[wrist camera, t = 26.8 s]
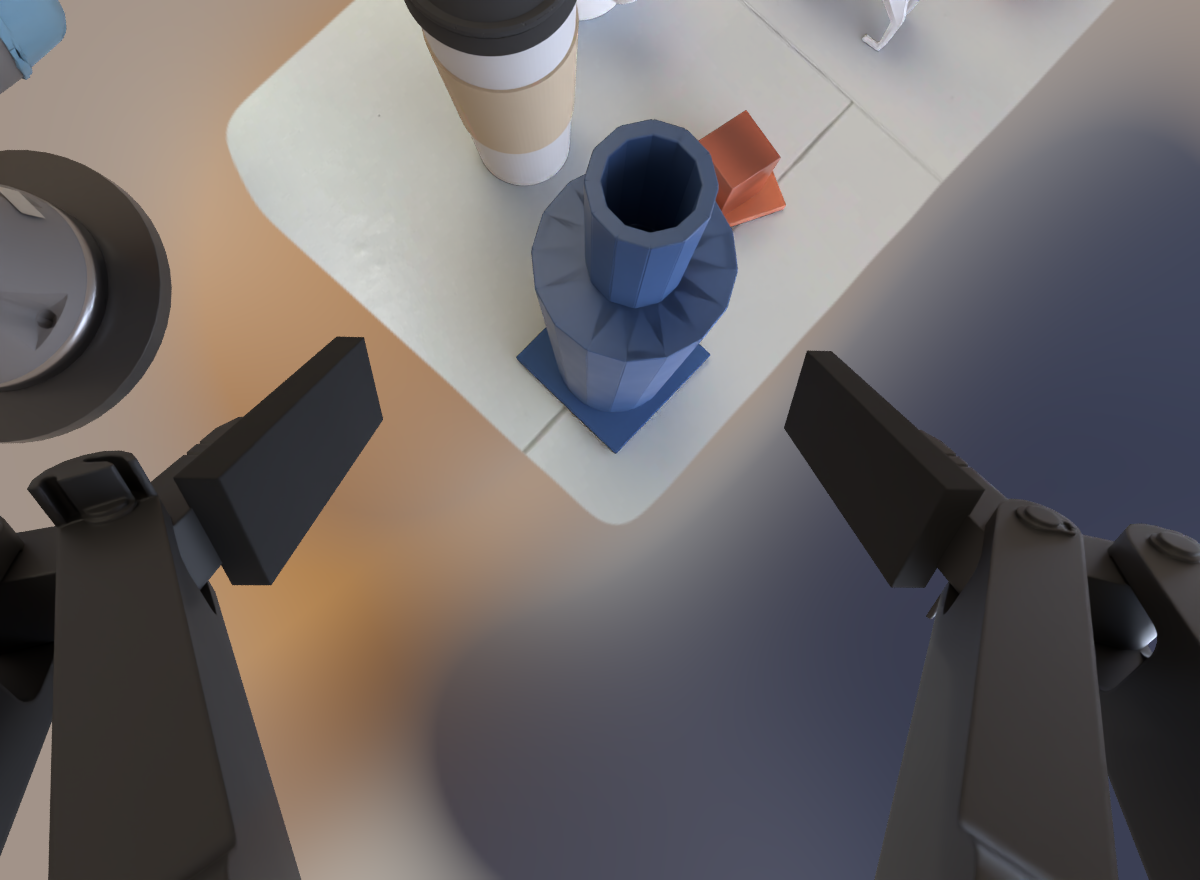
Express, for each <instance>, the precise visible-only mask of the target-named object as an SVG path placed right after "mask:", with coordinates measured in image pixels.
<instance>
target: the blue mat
mask: <svg viewBox="0 0 1200 880" xmlns="http://www.w3.org/2000/svg"><path fill="white" fill-rule="evenodd" d="M709 356H710V354H709V353H708V352H707V351H706V350H705V349H704V348H703V347H702V346H701V345H700V344H698V345H697V346H696V347H695V349H694V350H693V351H692V352H691V353H690V354H689V356H688V357H687V358H686V359H685V360H684V362H683V363H682V364H681V365H680V366H679V367H678V369H677V370H676V371H675V372H674V373H673V374H672V376H671V377H670V378H669V379H668V380H667V381H666V383H665V384H664V385H663V386H662V387H661V388H660V390H659V391H658V392H657V393H656V394H655V396H654V397H653V398H652V399H651V400H649V401H647V402H646V403H644V404H643V405H641V406H639V407H637V408H634V409H631V410H628V411H623V412H605V411H600V410H597V409H594V408H591V407H590V406H588V405H586V404H584V403H583V402H581V401H580V400H579V399H577V398H576V397H575V396H574V395H573V394H572V393H571V392H570V391H569V389H568V387H567V385H566V384H565V382H564V380H563V378H562V376H561V374H560V372H559V368H558V365H557V362H556V358H555V355H554V351H553V348H552V345H551V341H550V338H549V334H548V331H547V328H545V329H544V330H543V331H542V332H541V333H540V334H539V335H538V336H537V337H536V338H535V339H534V340H533V341H532V342H531V343H530V344H529V345H528V346H527V347H526V348H525V349H524V350H523V351H522V352H521V353H520V354H519V355H518V356H517V357H516V358H517V360H518V361H519V362H520V363H521V364H523V365H524V366H525V367H526V368H527V369H528V370H529V371H530V372H531V373H532V374H533V375H534V376H535V377H536V378H537V379H538V380H539V381H540V382H541V383H542V384H543V385H544V386H545V387H546V388H547V389H549V390H550V391H551V392H552V393H553V394H554V395H555V396H556V397H557V398H558V399H559V400H560V401H561V402H562V403H563V404H564V405H565V406H566V407H567V408H568V409H569V410H570V411H571V412H572V413H573V414H574V415H576V416H577V417H578V418H579V419H580V420H581V421H582V422H583V423H584V424H585V425H586V426H587V427H588V428H589V429H590V430H591V431H592V432H593V433H594V434H595V435H596V436H597V437H598V438H599V439H600V440H601V441H603V442H604V443H605V444H606V445H607V446H608V447H609V448H610V449H611V450H612V451H613V452H614V453H615V454H616V453H617V452H618V451H619V450H620V449H621V448H622V447H623V446H624V445H625V444H626V443H627V442H628V440H629V439H630V438H631V437H632V436H633V435H634V434H635V433H636V432H637V431H638V430H639V429H640V428H641V427H642V426H643V425H644V424H645V423H646V422H647V421H648V420H649V419H650V418H651V417H652V416H653V414H654V413H655V412H656V411H657V410H658V409H659V408H660V407H661V406H662V405H663V404H664V403H665V402H666V401H667V400H668V399H669V398H670V397H671V396H672V395H673V394H674V393H675V392H676V391H677V389H678V388H679V387H680V386H681V385H682V384H683V383H684V382H685V381H686V380H687V379H688V378H689V377H690V376H691V375H692V374H693V373H694V372H695V371H696V370H697V369H698V368H699V367H700V366H701V365H702V363H703V362H704V361H705V360H706V359H707V358H708V357H709Z"/></svg>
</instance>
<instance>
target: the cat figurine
mask: <svg viewBox="0 0 1200 880" xmlns="http://www.w3.org/2000/svg"><path fill="white" fill-rule="evenodd" d="M918 2H919V0H909V2H908V0H883V3H884V5H885V8H886V11H887V13H888V16H889V18H890V21H891V22H890V24H889V26H888V28H887V30H886V31H885V33H884V35H883V37H882V39H881V41H879V42H877V41H875V40H874V39H873V38H871V37H870V36H868V35H867V34H865V36H864V37H863V39H862V40H863V41H864V42H866V43H867V44H868V45H870V46H871V47H873V48H874V49H875V50H877V51H879V50H880V49H881V48H882V47H884V46H885V45H886V44H887V43H888V42H889V40H890V39H891V38H892V36H893V35H894V34H895V32H896V31H897V30H898V29H899V27H900V26H901V25H902V23H903V22H904V21H905V16H906V14H908V13H909V12H910V11H911V10H912V9H913V8H914V7H915V6H916V4H917V3H918Z"/></svg>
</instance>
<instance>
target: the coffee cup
mask: <svg viewBox="0 0 1200 880" xmlns="http://www.w3.org/2000/svg"><path fill="white" fill-rule="evenodd" d="M404 1H405V3H406V5H407V7H408V9H409V11H410V13H411V14H412V16H413V17H414V19H415V20H416V21H417V23H418V24H419V25H420V26H421V27H422V30H423V35H424V39H425V42H426V45H427V47H428V49H429V51H430V53H431V56H432V58H433V60H434V62H435V64H436V66H437V68H438V71H439V73H440V75H441V77H442V79H443V81H444V83H445V86H446V88H447V90H448V92H449V94H450V96H451V98H452V101H453V103H454V105H455V107H456V109H457V111H458V113H459V116H460V118H461V120H462V122H463V124H464V126H465V127H466V129H467V130H468V132H469V133H470V134H471V136H472V139H473V141H474V143H475V145H476V147H477V150H478V152H479V154H480V156H481V158H482V160H483V162H484V164H485V166H486V167H487V168H488V170H489V171H490V172H491V173H492V174H493V175H495V176H496V177H497V178H499V179H501V180H503V181H505V182H507V183H510V184H515V185H534V184H538V183H541V182H543V181H546V180H548V179H549V178H551V177H552V176H554V175H555V174H556V173H557V172H558V171H559V170H560V169H561V168H562V166H563V165H564V163H565V161H566V159H567V157H568V153H569V149H570V131H571V117H572V114H573V109H574V99H575V81H576V62H577V44H578V25H579V16H578V8H577V3H576V1H577V0H404Z"/></svg>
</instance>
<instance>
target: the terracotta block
mask: <svg viewBox="0 0 1200 880" xmlns="http://www.w3.org/2000/svg"><path fill="white" fill-rule="evenodd" d="M699 142H700V143H701V144H702V145H703V146H704V147H705V148H706V149H707V150H708V151H709V153H710V155H711V158H712V161H713V165H714V169H715V173H716V176H717V180H718V184H719V186H718V187H719V190H718V193H717V196H716V200H715V201H716V203H717V204H718V206H719V208H720V210H721V211H722V213H723V215H724V216H725V215H726V214H728V213H729V212H731V211H732V210H734V209H735V208H737V207H738V206H740V205H741V204H743V203H744V202H746V201H747V200H749V199H750V198H752V197H753V196H755V195H756V194H758V193H759V192H760V191H761V189H762V187H763V186H764V184H765V182H766V181H767V179H768V177H769V176H770V174H771V173H772V171H773V169H774V168H775V166H776V164H777V163H778V161H779V159H780V158H781V157H780V156H779V154H778V153H777V152H776V150H775V149H774V147H773V146H772V145H771V143H770V142H769V141H768V139H767V138H766V136H765V135H764V134H763V132H762V131H761V130H760V128H759V127H758V126H757V124H756V123H755V121H754V120H753V119H752V117H751V116H750V115H749V113H748V112H747V110H745V111H744V112H742V113H741V114H739V115H738V116H736V117H734V118H733V119H731V120H730V121H728V122H727V123H725V124H724V125H722V126H721V127H719V128H718V129H716V130H714V131H713V132H711V133H710V134H708V135H707V136H705V137H704V138H702V139H701V140H699Z"/></svg>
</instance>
